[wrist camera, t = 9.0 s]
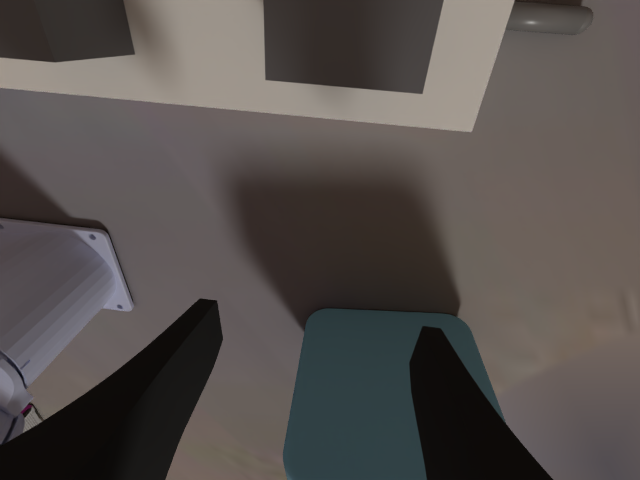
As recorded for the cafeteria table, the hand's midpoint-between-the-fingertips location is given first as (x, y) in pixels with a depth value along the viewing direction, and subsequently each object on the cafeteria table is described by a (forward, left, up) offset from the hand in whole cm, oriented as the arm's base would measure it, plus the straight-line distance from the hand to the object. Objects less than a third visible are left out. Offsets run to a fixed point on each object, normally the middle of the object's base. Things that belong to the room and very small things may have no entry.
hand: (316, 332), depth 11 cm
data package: (+5, -11, -11) cm, 16 cm away
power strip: (-4, +10, -10) cm, 15 cm away
